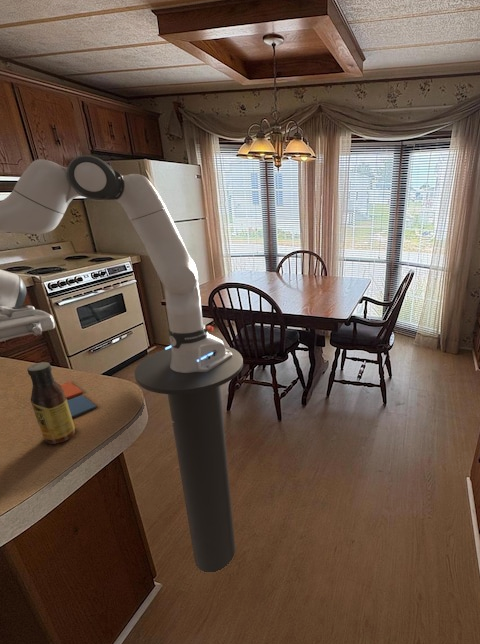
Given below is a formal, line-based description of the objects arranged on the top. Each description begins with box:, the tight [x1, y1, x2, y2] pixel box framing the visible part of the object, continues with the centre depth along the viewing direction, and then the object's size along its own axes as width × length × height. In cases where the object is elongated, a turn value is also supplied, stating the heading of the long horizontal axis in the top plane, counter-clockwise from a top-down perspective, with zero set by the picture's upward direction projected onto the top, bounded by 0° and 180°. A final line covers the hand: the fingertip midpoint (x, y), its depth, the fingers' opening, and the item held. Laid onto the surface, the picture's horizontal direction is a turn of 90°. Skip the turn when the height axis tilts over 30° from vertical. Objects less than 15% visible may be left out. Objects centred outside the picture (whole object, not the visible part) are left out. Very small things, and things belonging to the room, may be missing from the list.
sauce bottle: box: [26, 361, 76, 445], centre depth 80 cm, size 6×6×20 cm
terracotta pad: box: [60, 381, 84, 400], centre depth 101 cm, size 8×9×1 cm
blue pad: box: [67, 394, 98, 419], centre depth 94 cm, size 8×9×1 cm
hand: (13, 337), depth 81 cm, fingers open, 8 cm apart
